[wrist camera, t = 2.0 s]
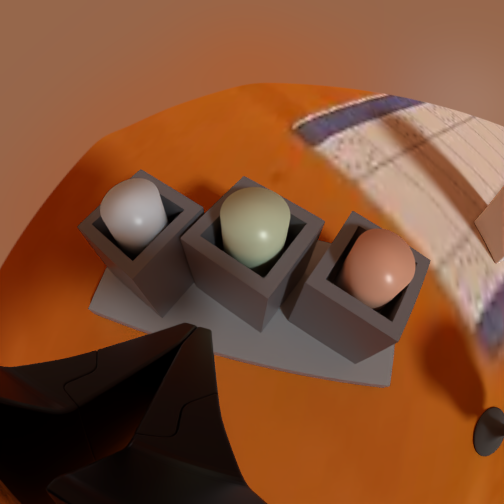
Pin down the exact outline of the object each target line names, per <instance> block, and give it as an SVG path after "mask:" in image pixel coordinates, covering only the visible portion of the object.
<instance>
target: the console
mask: <svg viewBox="0 0 504 504" xmlns="http://www.w3.org/2000/svg"><path fill="white" fill-rule="evenodd" d="M133 178H143V179H147V180H149V181H151V182H152V183H154V184H155V185H156V187H157V189H158V191H159V194H160V197H161V200H162V203H163V206H164V210H165V213H166V215H167V218H168V221H169V225H168V226H167V227H166V228H165V229H164V230H163V231H162V232H161V233H160V234H159V235H158V236H157V237H156V238H155V239H154V240H153V241H152V242H151V243H150V244H149V245H148V246H147V247H146V248H145V249H144V250H143V251H142V252H141V253H140V254H139V255H138V256H137V257H136V259H135V260H134V261H132V260H131V259H130V258H129V257H128V256H126V255H125V254H124V253H123V251H122V250H121V248H120V247H119V245H118V244H117V242H116V240H115V239H114V237H113V236H112V234H111V232H110V231H109V229H108V227H107V226H106V224H105V222H104V221H103V219H102V217H101V214H100V206H101V204H100V205H99V206H98V207H97V208H96V209H95V210H94V211H93V212H92V213H91V214H90V215H89V216H88V217H87V218H86V219H85V220H84V221H82V222H81V223H80V224H79V225H78V226H77V227H78V229H79V230H80V231H81V233H82V234H83V236H84V237H85V238H86V240H87V241H88V242H89V244H90V245H91V246H92V248H93V249H94V250H95V252H96V253H97V254H98V256H99V257H100V258H101V259H102V261H103V262H104V263H105V264H106V266H107V268H106V270H105V272H104V274H103V276H102V279H101V281H100V283H99V285H98V287H97V290H96V292H95V294H94V297H93V299H92V301H91V304H90V306H89V308H88V309H89V310H91V311H92V312H93V313H94V314H97V315H99V316H102V317H104V318H107V319H109V320H112V321H114V322H117V323H120V324H122V325H125V326H128V327H130V328H133V329H136V330H139V331H142V332H144V333H147V334H151V333H154V332H157V331H160V330H163V329H166V328H169V327H172V326H175V325H178V324H181V323H189V324H193V325H196V326H197V327H203V328H207V329H210V330H211V331H212V341H213V352H214V354H215V355H218V356H222V357H226V358H229V359H233V360H237V361H241V362H245V363H249V364H253V365H257V366H262V367H266V368H270V369H275V370H279V371H284V372H289V373H294V374H299V375H304V376H309V377H315V378H320V379H326V380H332V381H338V382H344V383H351V384H358V385H365V386H373V387H382V388H384V387H388V386H390V380H391V373H392V364H393V355H394V345H395V343H397V342H398V341H399V339H400V337H401V335H402V332H403V330H404V328H405V326H406V323H407V321H408V319H409V316H410V314H411V312H412V309H413V307H414V304H415V302H416V299H417V297H418V294H419V292H420V289H421V286H422V284H423V281H424V278H425V275H426V272H427V270H428V267H429V264H430V260H429V259H428V258H426V257H425V256H423V255H422V254H420V253H419V252H417V251H416V250H414V249H413V248H411V247H410V246H409V247H410V249H411V251H412V253H413V255H414V259H415V274H414V277H413V279H412V280H411V282H410V283H409V284H408V285H407V286H406V287H405V288H404V289H403V290H402V291H400V292H399V293H398V294H397V295H396V296H395V297H394V298H393V299H392V300H391V301H389V302H388V303H387V304H386V305H385V306H384V307H383V308H382V309H380V310H379V311H378V312H376V311H374V310H373V309H371V308H370V307H368V306H367V305H365V304H364V303H362V302H360V301H359V300H357V299H356V298H354V297H353V296H351V295H350V294H348V293H346V292H345V291H343V290H342V289H340V288H339V287H337V286H335V285H334V280H335V277H336V275H337V273H338V271H339V269H340V268H341V266H342V264H343V263H344V261H345V259H346V258H347V256H348V254H349V253H350V251H351V249H352V247H353V246H354V244H355V242H356V240H357V239H358V237H359V236H360V235H361V234H362V233H364V232H365V231H367V230H370V229H377V228H378V229H382V228H380V227H379V226H377V225H375V224H374V223H372V222H371V221H369V220H367V219H366V218H364V217H362V216H361V215H359V214H357V213H356V212H354V211H352V213H351V214H350V216H349V217H348V219H347V221H346V222H345V224H344V225H343V227H342V228H341V230H340V231H339V233H338V235H337V236H336V238H335V239H334V241H333V242H332V243H328V242H324V241H319V240H318V238H319V236H320V233H321V231H322V228H323V225H324V223H325V221H323V220H322V219H320V218H318V217H317V216H315V215H313V214H312V213H310V212H308V211H306V210H305V209H303V208H301V207H299V206H298V205H296V204H294V203H292V202H291V201H289V200H287V199H285V198H283V197H282V196H281V197H282V198H283V199H284V200H285V202H286V203H287V205H288V207H289V209H290V222H289V227H288V232H287V236H286V241H285V245H284V250H283V254H282V256H281V258H280V259H279V260H278V262H277V263H276V264H275V265H274V267H273V268H272V269H271V270H270V272H269V273H268V274H267V275H265V276H262V277H261V276H260V275H258V274H257V273H255V272H253V271H252V270H250V269H249V268H247V267H246V266H244V265H243V264H241V263H240V262H238V261H237V260H235V259H234V258H232V257H231V256H229V255H228V254H226V253H225V252H224V247H223V238H222V229H221V219H220V211H221V207H222V204H223V203H224V201H225V200H226V199H227V197H228V196H230V195H231V194H232V193H234V192H236V191H238V190H240V189H243V188H249V187H260V188H265V187H263V186H262V185H260V184H258V183H256V182H254V181H252V180H250V179H249V178H247V177H245V176H244V177H242V178H241V179H240V180H239V181H238V182H237V183H236V184H235V185H234V186H233V187H232V188H231V189H230V190H229V191H228V192H227V193H225V194H224V195H223V196H222V197H221V198H220V199H219V200H218V201H217V202H216V203H215V204H214V205H213V206H212V207H211V208H210V209H209V210H208V211H207V212H206V213H205V214H204V209H203V207H202V206H200V205H199V204H197V203H195V202H194V201H192V200H190V199H189V198H187V197H186V196H184V195H182V194H181V193H179V192H177V191H176V190H174V189H172V188H171V187H169V186H168V185H166V184H164V183H163V182H161V181H159V180H158V179H156V178H154V177H153V176H151V175H149V174H148V173H146V172H145V171H143V170H139V171H138V172H137V173H136V174H135V175H133V176H132V177H131V178H130V179H133ZM265 189H267V188H265Z"/></svg>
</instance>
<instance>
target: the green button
mask: <svg viewBox="0 0 504 504" xmlns="http://www.w3.org/2000/svg"><path fill="white" fill-rule="evenodd" d="M220 219H221V229H222V238H223V247H224V252H225V253H226V254H228V255H229V256H231V257H232V258H234V259H235V260H237V261H238V262H240V263H241V264H243V265H244V266H246V267H247V268H249V269H250V270H252V271H253V272H255V273H257V274H258V275H260V276H261V277H262V276H265V275H267V274H268V273H269V272H270V270H271V269H272V268H273V267H274V265H275V264H276V263H277V262H278V260H279V259H280V258H281V256H282V254H283V250H284V245H285V241H286V236H287V232H288V227H289V222H290V209H289V207H288V205H287V203H286V202H285V200H284V199H283V198H282V197H281V196H280V195H278V194H277V193H275V192H273V191H271V190H269V189H265V188H260V187H249V188H243V189H240V190H238V191H236V192H234V193H232V194H231V195H230V196H228V197H227V199H226V200H225V201H224V203H223V204H222V207H221V211H220Z"/></svg>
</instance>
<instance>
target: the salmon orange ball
mask: <svg viewBox="0 0 504 504" xmlns="http://www.w3.org/2000/svg"><path fill="white" fill-rule="evenodd" d="M414 274H415V259H414V255H413V253H412V251H411V249H410V247H409V246H408V244H407V243H406V242H405V241H404V240H403V239H402V238H401V237H400V236H398V235H397V234H395V233H393V232H391V231H389V230H385V229H378V228H377V229H370V230H367V231H365V232H364V233H362V234H361V235H360V236H359V237H358V239H357V240H356V242H355V244H354V246H353V247H352V249H351V251H350V253H349V254H348V256H347V258H346V259H345V261H344V263H343V264H342V266H341V268H340V269H339V271H338V273H337V275H336V277H335V280H334V285H335V286H337V287H339V288H340V289H342V290H343V291H345V292H346V293H348V294H350V295H351V296H353V297H354V298H356V299H357V300H359V301H360V302H362V303H364V304H365V305H367V306H368V307H370V308H371V309H373V310H374V311H376V312H378V311H379V310H380V309H382V308H383V307H384V306H385V305H386V304H387V303H388V302H389V301H391V300H392V299H393V298H394V297H395V296H396V295H397V294H398V293H399V292H400V291H402V290H403V289H404V288H405V287H406V286H407V285H408V284H409V283H410V282H411V280H412V279H413V277H414Z"/></svg>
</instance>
